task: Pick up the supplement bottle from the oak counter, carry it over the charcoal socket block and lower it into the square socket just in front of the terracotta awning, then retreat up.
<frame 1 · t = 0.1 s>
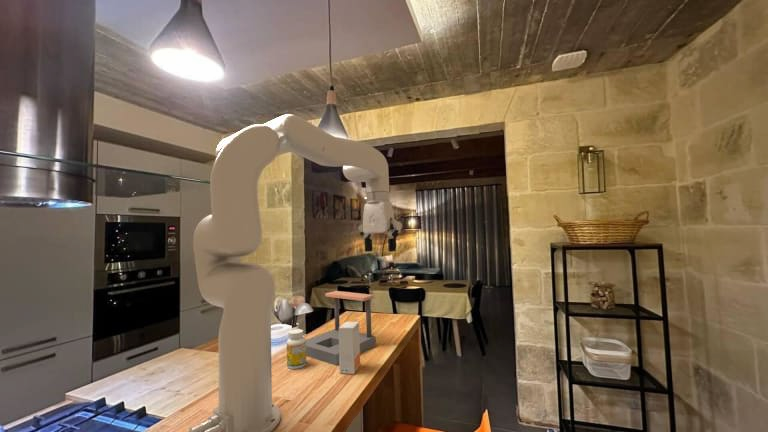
hand: (380, 251, 97), 31 cm above the table, tool pointing down, fingers open, 9 cm apart
socket block: (337, 349, 97), on the table
skincare box: (350, 369, 82), on the table
supplement bottle: (296, 366, 86), on the table
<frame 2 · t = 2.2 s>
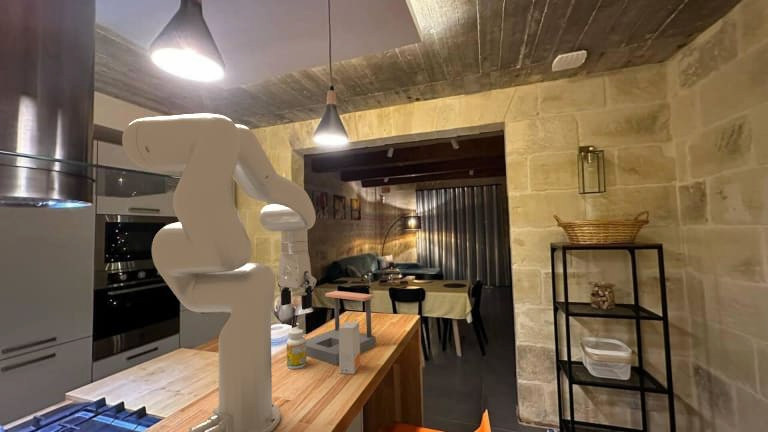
hand: (296, 306, 88), 16 cm above the table, tool pointing down, fingers open, 9 cm apart
nothing on the table moved.
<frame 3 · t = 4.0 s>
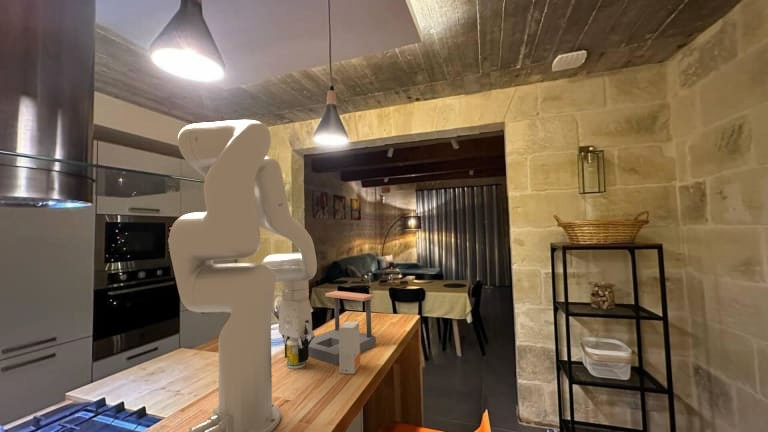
hand: (296, 358, 86), 2 cm above the table, tool pointing down, fingers closed on supplement bottle, 5 cm apart
supplement bottle: (296, 366, 86), on the table, touching gripper
everything else where it was.
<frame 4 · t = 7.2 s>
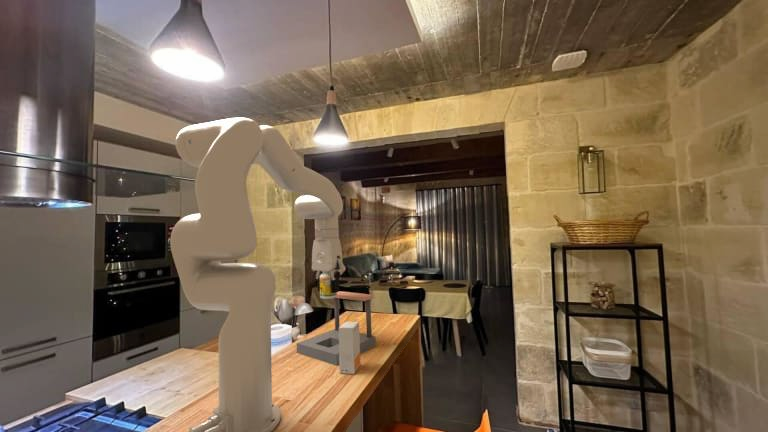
hand: (328, 291, 96), 19 cm above the table, tool pointing down, fingers closed on supplement bottle, 5 cm apart
supplement bottle: (328, 297, 96), point 17 cm above the table, touching gripper
everything else where it was.
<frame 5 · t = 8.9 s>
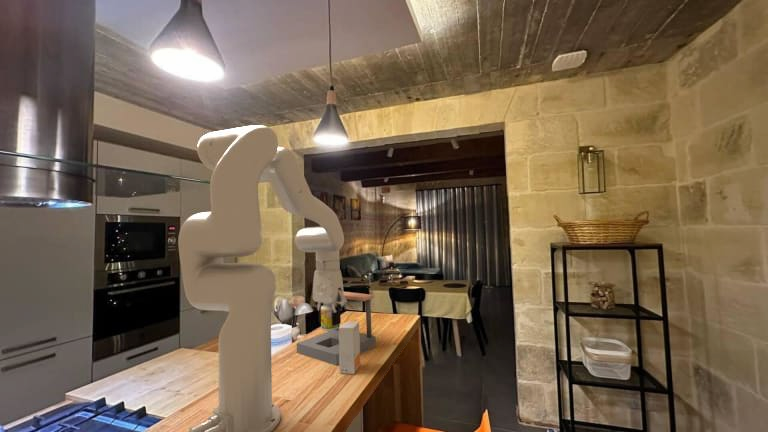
hand: (329, 322, 96), 9 cm above the table, tool pointing down, fingers closed on supplement bottle, 5 cm apart
supplement bottle: (329, 329, 96), point 7 cm above the table, touching gripper
everything else where it was.
when the fingers open (4 cm above the table, at t = 10.4 s): supplement bottle drops 2 cm, resting in socket block.
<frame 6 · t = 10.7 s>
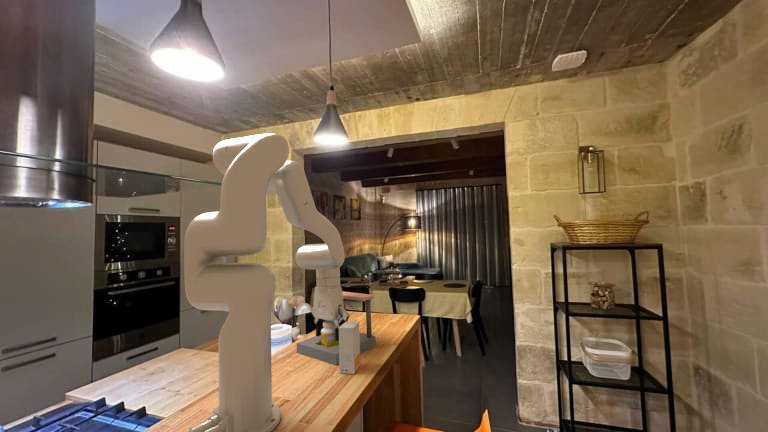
hand: (329, 337, 95), 5 cm above the table, tool pointing down, fingers open, 8 cm apart
supplement bottle: (330, 353, 95), resting in socket block
everything else where it was.
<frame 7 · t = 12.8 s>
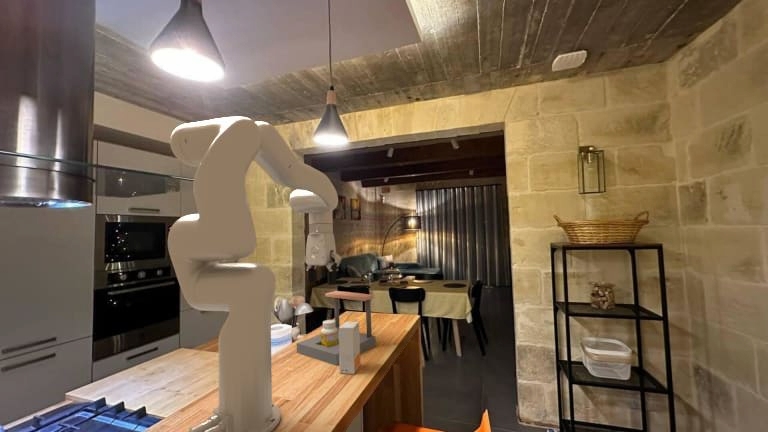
hand: (321, 283, 96), 22 cm above the table, tool pointing down, fingers open, 9 cm apart
nothing on the table moved.
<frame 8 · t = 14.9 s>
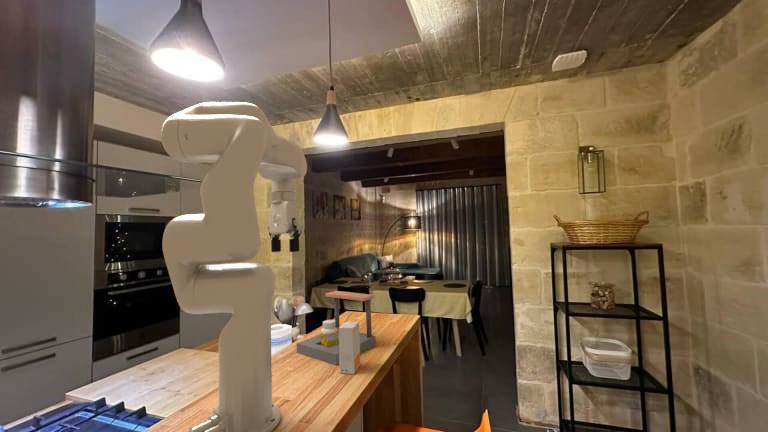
hand: (285, 251, 96), 32 cm above the table, tool pointing down, fingers open, 9 cm apart
nothing on the table moved.
at the end: supplement bottle 0.2 cm from the target spot on the socket block, point 0.0 cm above the socket block's base; supplement bottle tilted 0°; the gripper is holding nothing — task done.
